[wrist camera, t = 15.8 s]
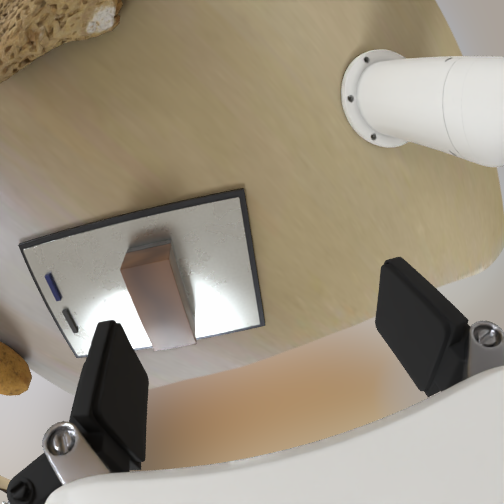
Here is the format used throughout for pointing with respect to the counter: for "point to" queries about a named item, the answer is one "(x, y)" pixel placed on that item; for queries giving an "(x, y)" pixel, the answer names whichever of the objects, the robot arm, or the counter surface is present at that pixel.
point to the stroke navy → (53, 287)
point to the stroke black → (70, 321)
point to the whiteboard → (141, 233)
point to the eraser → (159, 295)
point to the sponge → (49, 27)
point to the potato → (13, 372)
